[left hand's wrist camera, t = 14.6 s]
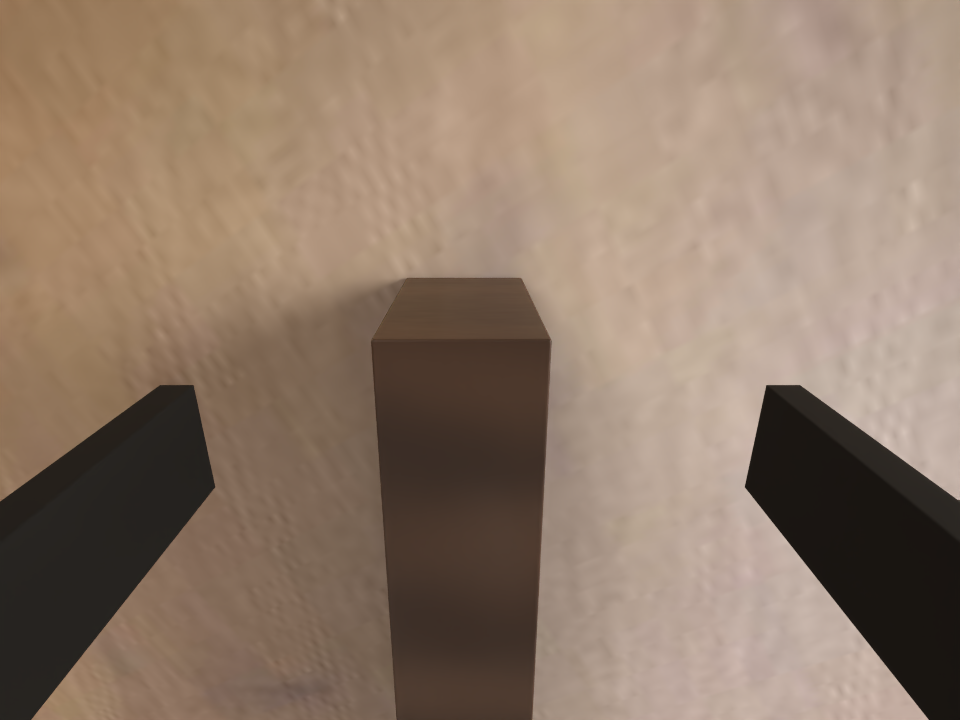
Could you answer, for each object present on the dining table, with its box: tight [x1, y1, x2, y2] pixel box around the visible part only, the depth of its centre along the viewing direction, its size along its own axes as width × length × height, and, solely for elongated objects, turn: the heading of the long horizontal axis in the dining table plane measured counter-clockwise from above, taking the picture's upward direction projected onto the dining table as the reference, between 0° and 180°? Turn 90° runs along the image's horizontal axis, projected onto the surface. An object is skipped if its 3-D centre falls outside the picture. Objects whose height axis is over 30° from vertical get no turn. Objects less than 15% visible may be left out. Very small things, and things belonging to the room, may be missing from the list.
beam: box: [371, 278, 551, 720], centre depth 24 cm, size 30×5×9 cm, turn 0°
